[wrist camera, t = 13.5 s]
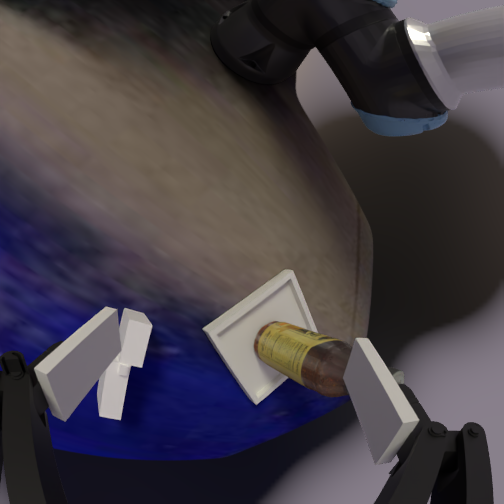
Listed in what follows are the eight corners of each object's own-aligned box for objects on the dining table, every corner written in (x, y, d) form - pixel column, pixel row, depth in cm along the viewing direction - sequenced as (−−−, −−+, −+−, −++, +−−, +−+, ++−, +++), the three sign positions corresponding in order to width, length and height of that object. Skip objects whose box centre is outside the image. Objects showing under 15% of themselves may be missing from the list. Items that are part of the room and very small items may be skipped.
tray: (284, 269, 38) (292, 270, 37) (314, 342, 42) (322, 345, 41) (202, 328, 32) (208, 332, 31) (249, 399, 36) (256, 404, 35)
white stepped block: (109, 416, 26) (115, 443, 21) (46, 349, 23) (39, 370, 18) (197, 350, 32) (217, 367, 28) (144, 275, 29) (154, 282, 24)
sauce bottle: (295, 335, 39) (416, 377, 22) (268, 368, 37) (385, 430, 20) (270, 308, 36) (404, 347, 19) (240, 344, 34) (367, 411, 17)
